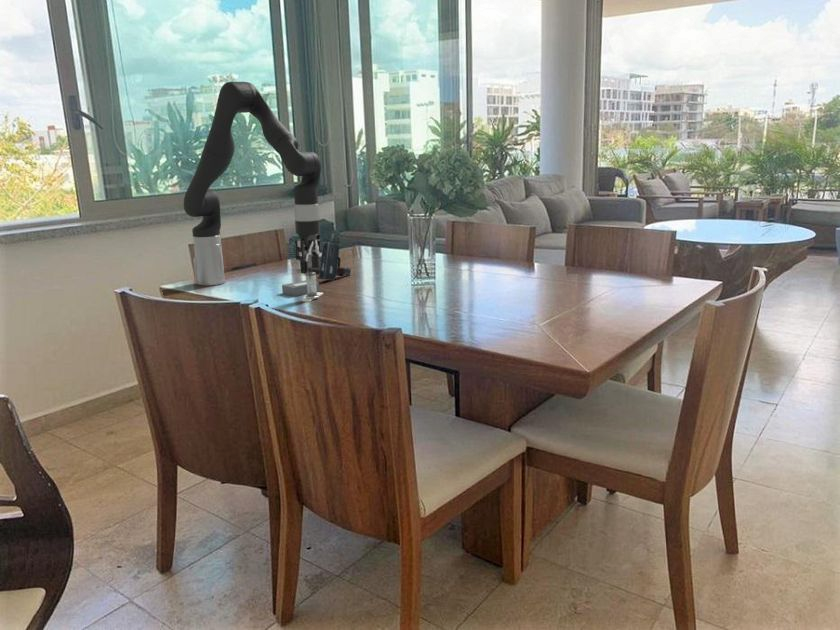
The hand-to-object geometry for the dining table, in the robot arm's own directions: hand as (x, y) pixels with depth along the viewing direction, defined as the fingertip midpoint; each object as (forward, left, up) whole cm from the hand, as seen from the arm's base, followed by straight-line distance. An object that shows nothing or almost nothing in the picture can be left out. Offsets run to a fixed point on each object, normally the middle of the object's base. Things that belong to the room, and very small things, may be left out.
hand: (310, 270), depth 204 cm
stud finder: (-7, +8, -10) cm, 15 cm away
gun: (-4, +30, -9) cm, 32 cm away
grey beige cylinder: (0, 0, -9) cm, 9 cm away
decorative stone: (-18, +47, -10) cm, 51 cm away
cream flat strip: (0, +1, -9) cm, 9 cm away
